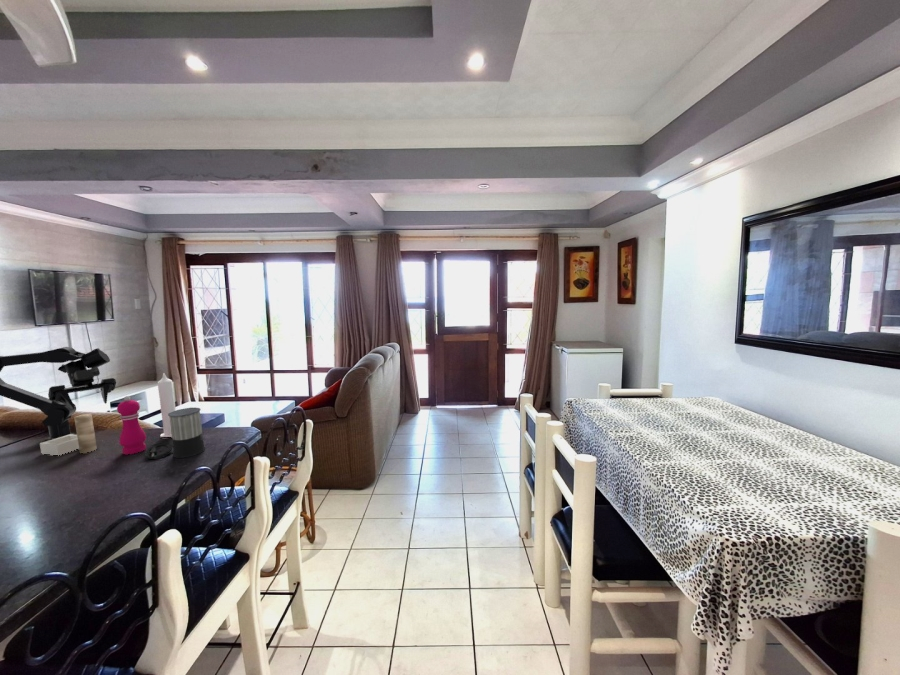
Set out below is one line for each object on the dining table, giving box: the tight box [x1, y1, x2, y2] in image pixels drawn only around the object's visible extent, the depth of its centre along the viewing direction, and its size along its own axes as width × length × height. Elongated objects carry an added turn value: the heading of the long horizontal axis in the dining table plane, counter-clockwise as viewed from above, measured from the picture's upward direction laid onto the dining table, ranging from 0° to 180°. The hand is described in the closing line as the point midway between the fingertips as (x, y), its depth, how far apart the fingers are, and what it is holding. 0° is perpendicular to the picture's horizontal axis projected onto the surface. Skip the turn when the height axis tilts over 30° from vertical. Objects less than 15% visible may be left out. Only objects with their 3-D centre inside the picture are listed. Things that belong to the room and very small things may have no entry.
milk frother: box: [144, 407, 206, 460], centre depth 127 cm, size 14×16×15 cm
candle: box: [157, 372, 177, 438], centre depth 145 cm, size 7×7×25 cm
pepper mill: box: [116, 395, 147, 456], centre depth 130 cm, size 7×7×20 cm
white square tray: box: [39, 434, 79, 457], centre depth 134 cm, size 9×9×4 cm
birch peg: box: [73, 413, 98, 454], centre depth 132 cm, size 4×4×13 cm
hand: (90, 405), depth 143 cm, fingers open, 9 cm apart
